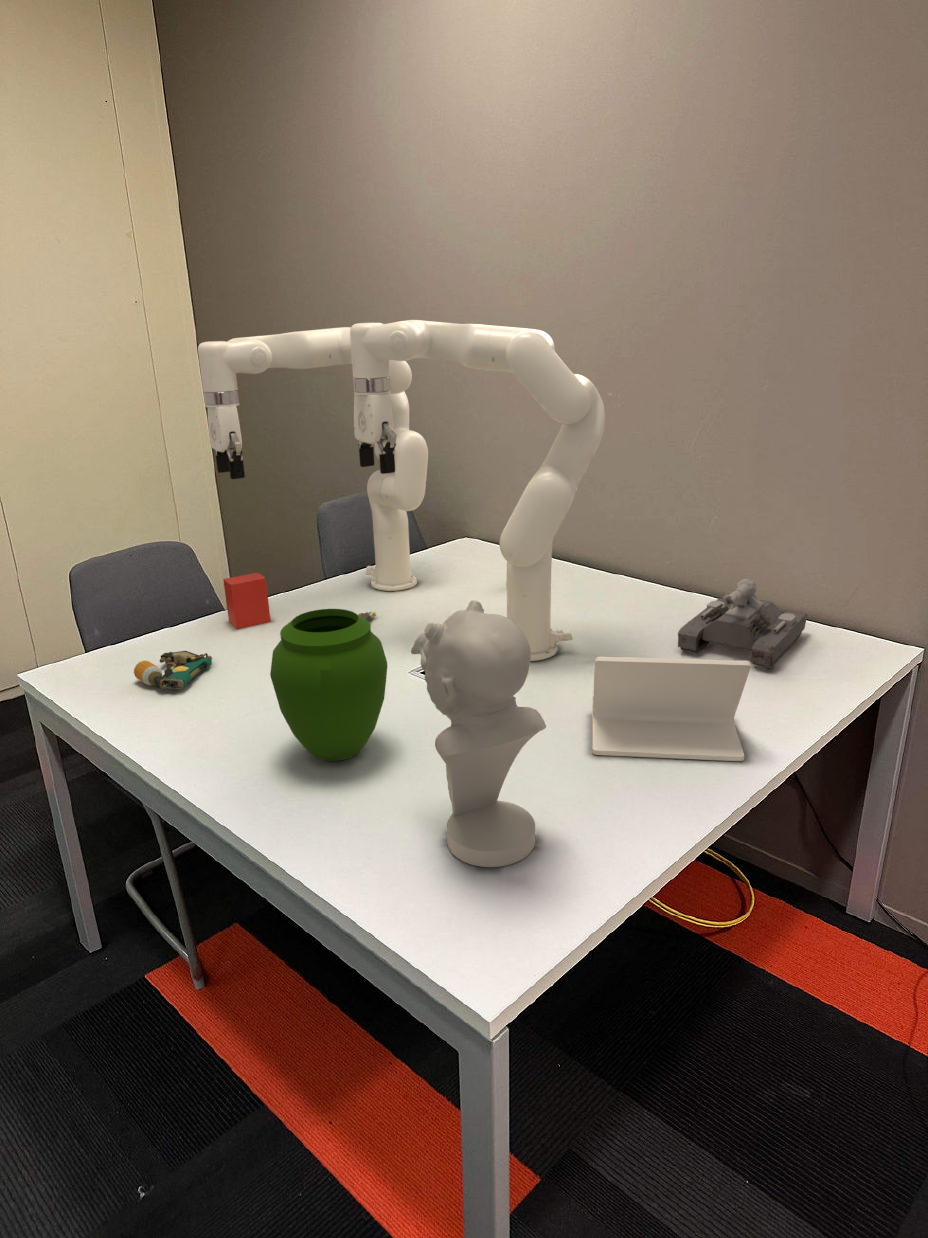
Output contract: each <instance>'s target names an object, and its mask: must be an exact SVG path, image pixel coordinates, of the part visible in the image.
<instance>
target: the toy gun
mask: <svg viewBox="0 0 928 1238" xmlns="http://www.w3.org/2000/svg"><path fill="white" fill-rule="evenodd" d="M357 615H359V616H361V617H363V618H365V619H366V620H367V621H369V622H370V620H371V619H373V618H374V617H377V612H376V611H369V612H368V611H366V612H359V613H358V614H357Z"/></svg>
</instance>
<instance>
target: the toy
mask: <svg viewBox="0 0 928 1238" xmlns="http://www.w3.org/2000/svg"><path fill="white" fill-rule="evenodd" d="M757 590H758V589H757V584H756V583H755V582H754V580H752V579H750V578H743V579H741V580H740V581H738V582H737V585H736V588H735V589H734V590H733V591H732V592H730V593H725V594H724V596H723V597H722V598H720V597H719V598H717V599H716V600H711V601H710V602H709V603H707V604H706V607H705V608H704V609H703V610H701V612H699V613H698V614H697V615H696V616H694V617H692V619H690V620H688V622H686V623H685V624H684V625H682V626H681V627H680V629H679V630H678V632H677V647H679V649H680V650H681V651H683V652H688V653H693V654H699V653H700V652H701V651H703V650H704V649H705V648H706V647H707V646H708V645H710V644H713V645H718V646H724V647H728V648H734V649H738V650H743V651H748V652H750V661H749V662H750V663H752V665H755V666H759V667H764V668H769V669H772V668H773V667H774V665H776V664H777V662H778V661H779V660H781V658H782V657H783V656H784V655H785V654H786V652H788V651H789V650H790V648H791V647H792V646H793V645H794V644H795V643H797V640H799V638H801V635H802V633H803V631H804V630H805V628H806V624H807V619H808V613H803V612H799V611H793V610H786V611H785V612H783V611H781V610H780V608H778V606H777V605H775V603H774V602H773V601H772V600H765V599H759V598H758V596H756V595H755V594H756V592H757Z"/></svg>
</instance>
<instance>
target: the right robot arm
mask: <svg viewBox="0 0 928 1238" xmlns="http://www.w3.org/2000/svg"><path fill="white" fill-rule="evenodd" d="M350 327H351V329H350V341H351V355H352V364H351V367H352V381H353V394H354V398H353V431H354V434H353V435H354V438H355V440H356V441H357V447H358V455H359V466H360V467H361V468H367V467H374V466H375V448H374V446H373V445H375V444H376V442H377V444H378V447H379V449H380V452H381V454H379V458H380V460H379V470H380V473H382V474H386V473H393V472H395V458H394V453H395V447H396V443H395V442H396V437H397V435H396V433H395V432H394V429H393V416H392V408H391V401H390V396H389V394H390V393H391V387H390V369H389V360H395V361H406V362H407V361H411V360H414V359H428V360H436V361H437V360H438V361H446V362H453V363H457V364H460V365H462V366H464V367H465V368H468V369H472V370H477V371H490V372H500V373H501V372H502V373H510V374H513V375H514V376H515V378H516V379H517V380H518V382H519V383H520V384H521V386H522V387H524V389H525V390H526V391H527V392H528V393H529V394H530V395H531V397H532V398H533V399H534V400H535V402H537V404H538V405H539V406H540V407H541V408H542V409H543V411H545V413H546V414H547V415H548V416H550V418H551V419H552V420H553V421H555V422H557V423H560V424H561V427H560V429H559V431H558V433H557V435H556V436H555V439H554V441H553V443H552V445H551V447H550V449H549V451H548V453H547V455H546V457H545V458H544V460H543V462H542V464H541V465H540V466H539V468H538V470H536V472H535V473H534V474H533V475H532V477H531V479H530V480H529V481H528V483H527V485H526V486H525V489H524V490H523V492H522V494H521V496H520V497H519V499H518V502H517V503H516V506H515V507H514V509H513V511H512V513H511V514H510V517H509V518H508V520H507V522H506V524H505V525H504V528H503V530H502V531H501V534H500V537H499V550H500V553H501V555H502V557H503V559H504V560H505V561H506V617H507V618H509V619H511V620H512V621H513V622H514V623H515V624H516V625H517V626H518V627H519V628H520V629H521V630H522V632H523V633H524V634H525V636H526V638H527V640H528V643H529V646H530V652H531V653H530V655H531V656H530V662H535V661H536V662H537V661H543V660H547V659H550V658H552V657H554V656H555V655H556V654H557V652H558V643H559V642H568V641H569V642H570V641H572V640H573V633H572V632H571V631H563V629H556V630H553V629H552V628H551V625H552V621H551V618H552V616H551V613H552V609H551V608H552V559H553V544H554V537H555V536H556V535H557V533H558V531H559V529H560V528H561V525H562V523H563V522H564V520H565V518H566V517H567V515H568V513H569V511H570V509H571V507H572V505H573V503H574V500H575V497H576V493H577V490H578V487H579V485H580V483H581V482H582V480H583V478H584V476H585V475H586V472H587V471H588V469H589V466H590V465H591V463H592V461H593V458H595V457H594V456H595V455H596V453H597V451H598V449H599V447H600V445H601V441H602V439H603V437H604V432H605V426H606V410H605V405H604V401H603V399H602V397H601V396H602V395H600V393H599V390H598V389H597V387H596V386H595V385H594V383H593V382H592V381H591V380H590V379H589V378H587V377H586V376H584V375H582V374H579V373H573V371H572V370H571V369H570V368H569V367H568V366H567V364H565V362H564V361H563V360H562V358H561V357H560V356H559V355H558V353H557V352H556V347H555V343H554V340H553V338H552V337H551V336H550V334H548V333H547V332H545V331H544V330H542V329H541V330H540V329H536V328H526V327H514V326H504V325H503V326H501V325H493V324H491V325H490V324H481V323H455V322H454V323H453V322H443V321H431V320H423V319H422V320H419V319H407V320H400V321H394V322H389V323H382V322H357V323H354V324H353V325H352V326H350ZM383 444H386V445H385V447H384V446H383Z"/></svg>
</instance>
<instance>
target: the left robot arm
mask: <svg viewBox="0 0 928 1238" xmlns="http://www.w3.org/2000/svg"><path fill="white" fill-rule="evenodd" d="M351 327H352V326H343V327H332V328H331V327H329V328H320V329H309V330H298V331H289V332H283V333H277V334H267V335H255V336H245V337H244V336H243V337H233V338H232V339H228V340H227V341H224V340H213V341H204V342H201V343H199V345H198V347H197V355H198V362H199V370H200V378H201V385H202V392H203V393H202V394H203V400H204V407H205V408H207V424H208V425H207V426H208V437H209V445H210V448H212V449H213V450H214V454H215V463H216V468H217V469H216V470H217V472H218V473H219V474H222V473H229V478H230V479H231V480H237V479H238V480H239V479H244V478H246V473H245V466H244V456H243V450H242V448H243V440H242V431H241V430H242V429H241V424H240V417H239V413H238V408H237V406H238V407H239V406H240V397H239V388H238V380H237V379H238V377H237V374H248V375H249V374H250V375H257V374H262V373H264V372H266V370H268V369H291V370H308V369H317V368H324V367H331V366H332V367H333V366H340V365H349V364H350V365H352V355H351V341H350V329H351ZM389 369H390V387H391V393H390V394H389V396H390V401H391V408H392V416H393V429H394V432H395V433H396V435H397V437H396V442H395V443H396V447H395V453H394V458H395V472H393V473H386V474H382V473H380V469H377V470H376V471H374V472H373V473H372V474H371V475H370V476H369V478H368V480H367V483H366V484H367V485H366V493H367V498H368V502H369V506H370V511H371V519H372V530H373V531H372V532H373V533H372V534H373V547H374V563H375V564H374V565H375V566H374V565H367V566H366V568H365V571H364V573H365V575H368V576H372V579H371V580H370V583H371V584H370V585H371V587H372V588H373V589H375V590H379V591H384V592H393V591H395V592H396V591H404V590H408V589H411V588H413V587H415V586H416V585H417V584H418V578H417V577H416V576H414V575H413V574H412V570H411V567H412V566H411V552H410V550H411V549H410V531H409V530H410V529H409V528H410V526H409V517H408V512H412V511H415V510H416V509H418V508H419V507H420V506H421V505H422V503H423V501H424V498H425V495H426V489H427V478H428V465H429V448H428V444H427V442H426V439H425V438H424V437H423V435H421V434H420V433H419V432H416V431H415V430H412V429H411V430H410V402H409V399H408V396H407V394H406V392H405V391H407V390H408V389H409V388H410V386H411V384H412V380H413V374H412V369H411V367H410V364H408V362H407V361H395V360H389ZM385 445H386V444H383V446H384V447H385ZM379 454H381V452H380V449H379V447H378V444H377V442H376V444H374V455H375V457H376V458H377V459H378V460H379V461H380V458H379Z"/></svg>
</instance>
